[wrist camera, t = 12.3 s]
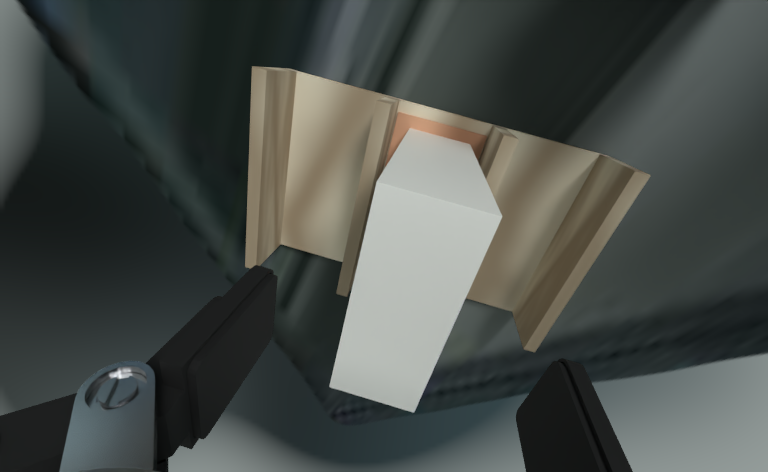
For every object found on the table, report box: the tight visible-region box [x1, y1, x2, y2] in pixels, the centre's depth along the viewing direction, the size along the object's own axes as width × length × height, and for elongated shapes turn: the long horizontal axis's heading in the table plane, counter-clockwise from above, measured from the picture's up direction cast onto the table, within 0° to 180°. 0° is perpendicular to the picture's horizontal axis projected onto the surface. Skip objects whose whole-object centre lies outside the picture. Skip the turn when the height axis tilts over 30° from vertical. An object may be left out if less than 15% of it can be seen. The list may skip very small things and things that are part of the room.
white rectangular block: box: [329, 128, 502, 413], centre depth 17 cm, size 4×10×12 cm, turn 167°
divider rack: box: [245, 66, 651, 352], centre depth 22 cm, size 21×14×5 cm, turn 76°
